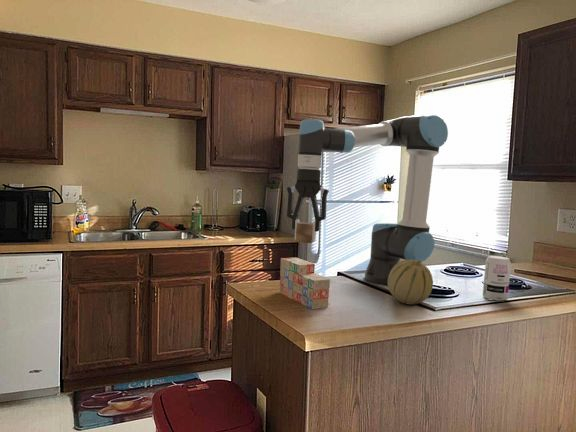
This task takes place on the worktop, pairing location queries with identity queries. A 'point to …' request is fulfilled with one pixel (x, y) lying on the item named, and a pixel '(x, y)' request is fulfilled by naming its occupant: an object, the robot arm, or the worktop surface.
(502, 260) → the supplement can
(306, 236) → the walnut block
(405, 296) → the cantaloupe
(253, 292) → the worktop surface
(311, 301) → the stack of blocks
